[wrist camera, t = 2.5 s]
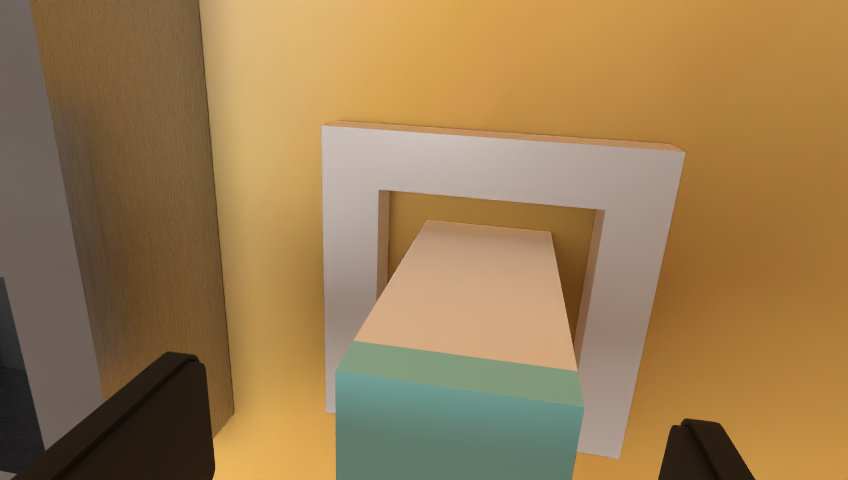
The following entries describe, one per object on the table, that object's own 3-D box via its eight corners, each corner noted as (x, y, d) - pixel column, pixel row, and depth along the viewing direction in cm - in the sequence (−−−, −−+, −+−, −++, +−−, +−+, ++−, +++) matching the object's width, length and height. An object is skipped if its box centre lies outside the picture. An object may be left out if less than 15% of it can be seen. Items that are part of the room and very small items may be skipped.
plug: (550, 231, 16) (584, 407, 8) (535, 342, 18) (550, 594, 9) (426, 219, 17) (335, 370, 8) (420, 327, 18) (336, 551, 10)
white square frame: (670, 143, 15) (685, 151, 13) (611, 428, 18) (619, 458, 17) (338, 120, 16) (321, 125, 15) (339, 387, 20) (326, 412, 18)
